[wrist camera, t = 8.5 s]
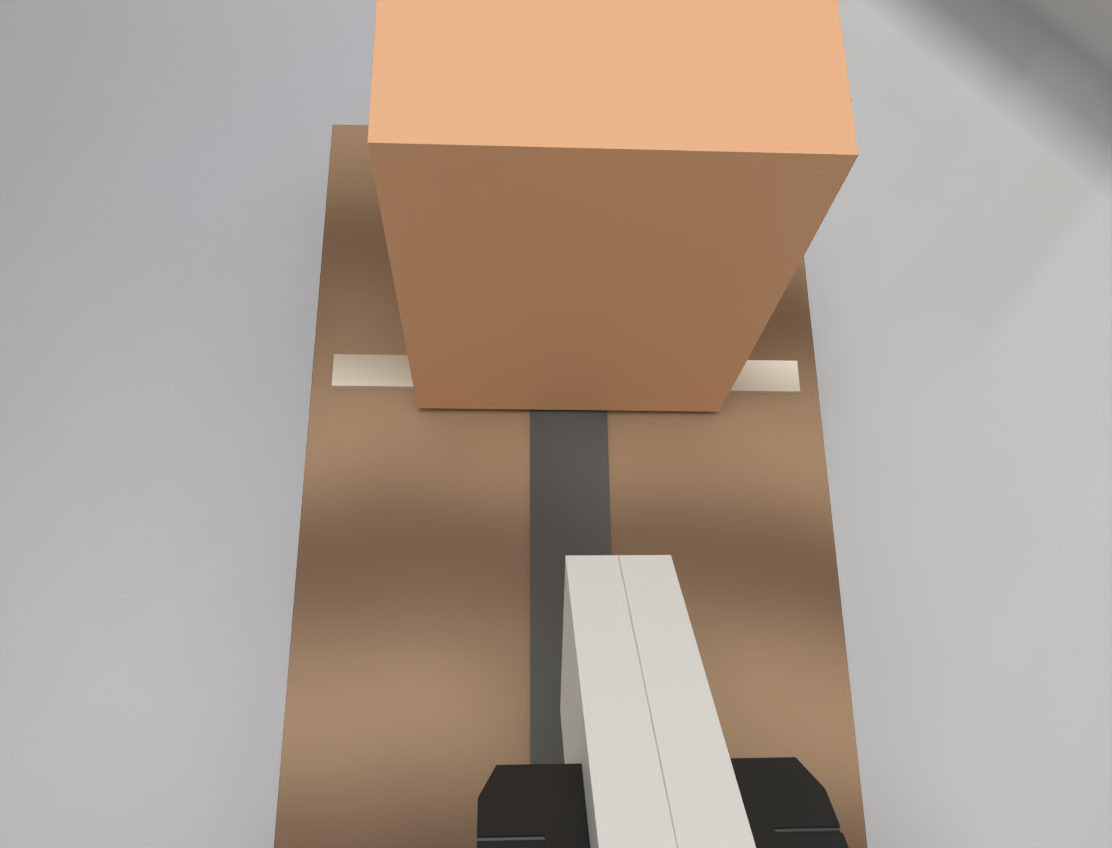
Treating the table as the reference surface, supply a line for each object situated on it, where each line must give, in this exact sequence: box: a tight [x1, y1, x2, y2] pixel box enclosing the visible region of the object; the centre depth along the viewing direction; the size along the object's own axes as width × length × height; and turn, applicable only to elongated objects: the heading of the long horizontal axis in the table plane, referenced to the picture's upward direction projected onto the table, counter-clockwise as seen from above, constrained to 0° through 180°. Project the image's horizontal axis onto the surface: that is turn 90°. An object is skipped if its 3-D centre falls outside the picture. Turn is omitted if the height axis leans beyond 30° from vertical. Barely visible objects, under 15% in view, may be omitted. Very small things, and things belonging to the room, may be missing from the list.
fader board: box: [274, 125, 867, 848], centre depth 24 cm, size 24×12×3 cm, turn 1°
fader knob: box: [368, 0, 858, 412], centre depth 20 cm, size 4×7×10 cm, turn 91°
